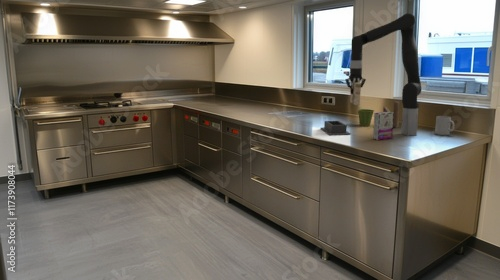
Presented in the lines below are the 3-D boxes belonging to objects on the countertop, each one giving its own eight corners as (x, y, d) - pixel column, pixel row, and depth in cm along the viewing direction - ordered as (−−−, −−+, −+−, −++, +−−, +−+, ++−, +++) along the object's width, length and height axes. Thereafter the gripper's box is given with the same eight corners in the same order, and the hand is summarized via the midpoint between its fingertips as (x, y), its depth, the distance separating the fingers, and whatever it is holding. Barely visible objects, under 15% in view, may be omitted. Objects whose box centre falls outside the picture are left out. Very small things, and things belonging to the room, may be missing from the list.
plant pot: (373, 127, 280) (374, 111, 278) (356, 126, 284) (356, 111, 281) (373, 124, 291) (374, 109, 289) (356, 123, 295) (357, 108, 292)
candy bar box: (386, 137, 248) (388, 111, 245) (392, 138, 244) (394, 112, 240) (372, 138, 244) (374, 112, 240) (378, 140, 240) (379, 113, 236)
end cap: (350, 134, 256) (350, 125, 255) (329, 135, 255) (329, 126, 254) (340, 128, 278) (340, 119, 277) (320, 128, 277) (320, 120, 275)
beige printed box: (359, 104, 258) (361, 83, 254) (355, 105, 258) (356, 83, 254) (354, 102, 268) (355, 81, 264) (349, 102, 268) (351, 81, 264)
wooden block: (384, 125, 287) (386, 100, 283) (398, 127, 279) (400, 101, 275) (382, 126, 284) (383, 101, 280) (396, 128, 277) (398, 102, 273)
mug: (431, 133, 258) (433, 116, 255) (440, 131, 262) (441, 115, 260) (449, 136, 248) (450, 119, 245) (457, 135, 252) (459, 118, 249)
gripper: (347, 68, 254) (346, 94, 258) (368, 67, 255) (367, 94, 259) (343, 67, 261) (342, 93, 265) (364, 67, 263) (363, 93, 266)
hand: (354, 93), depth 262 cm, fingers closed on beige printed box, 3 cm apart
